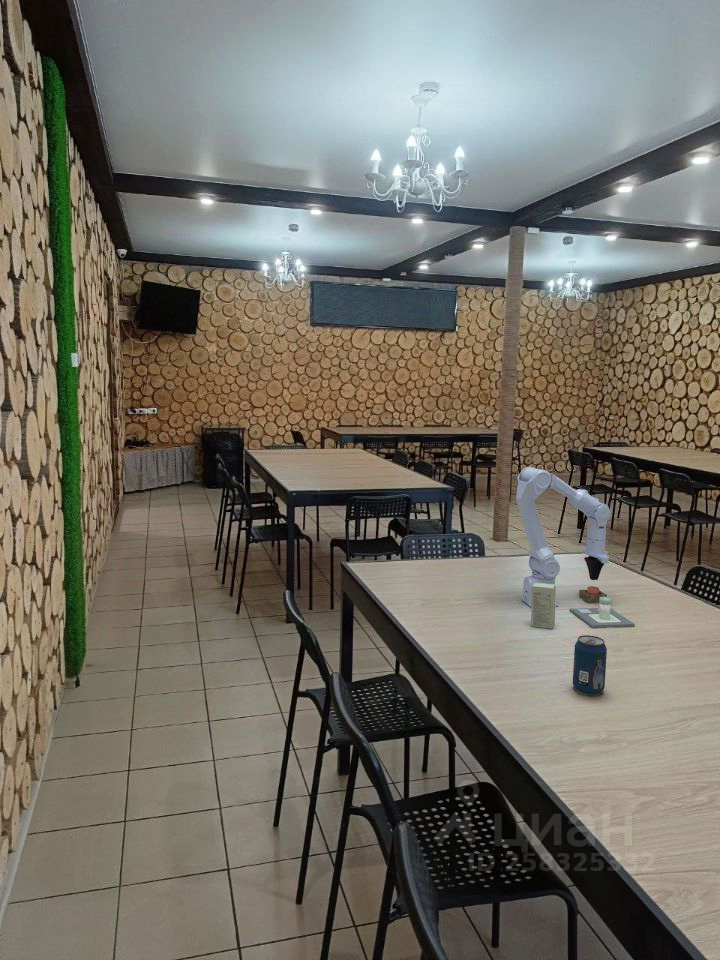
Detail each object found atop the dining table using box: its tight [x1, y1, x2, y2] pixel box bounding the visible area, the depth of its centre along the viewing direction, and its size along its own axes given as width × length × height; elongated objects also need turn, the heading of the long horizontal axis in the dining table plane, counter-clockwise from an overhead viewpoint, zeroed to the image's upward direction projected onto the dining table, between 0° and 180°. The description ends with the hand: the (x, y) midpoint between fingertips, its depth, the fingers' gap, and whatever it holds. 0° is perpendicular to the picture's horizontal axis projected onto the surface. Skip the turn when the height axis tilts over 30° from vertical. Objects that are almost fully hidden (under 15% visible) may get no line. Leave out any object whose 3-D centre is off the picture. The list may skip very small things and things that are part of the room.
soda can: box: [572, 634, 608, 697], centre depth 153 cm, size 7×7×12 cm
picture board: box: [569, 607, 636, 629], centre depth 202 cm, size 13×15×1 cm
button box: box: [578, 589, 608, 604], centre depth 220 cm, size 6×6×2 cm
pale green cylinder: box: [599, 596, 612, 619], centre depth 200 cm, size 3×3×6 cm
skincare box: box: [530, 583, 557, 629], centre depth 195 cm, size 6×4×12 cm
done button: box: [586, 585, 600, 594], centre depth 220 cm, size 4×4×3 cm
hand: (593, 579), depth 219 cm, fingers closed
